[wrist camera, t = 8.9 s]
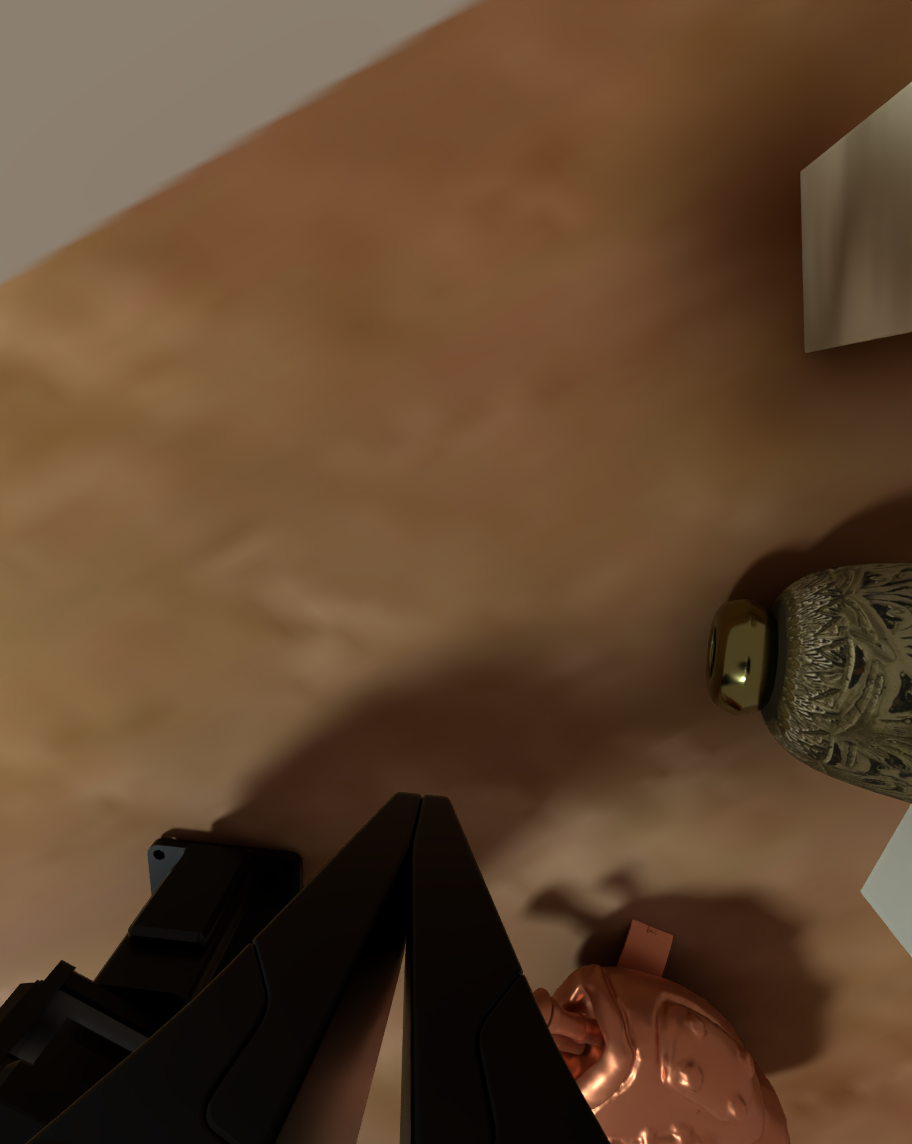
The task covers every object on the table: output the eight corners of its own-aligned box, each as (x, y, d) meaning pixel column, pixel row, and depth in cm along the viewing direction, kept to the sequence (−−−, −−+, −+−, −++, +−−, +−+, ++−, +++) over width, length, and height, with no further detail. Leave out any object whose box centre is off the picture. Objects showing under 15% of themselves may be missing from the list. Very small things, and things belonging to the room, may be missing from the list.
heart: (926, 1183, 18) (511, 998, 17) (713, 1324, 22) (372, 1178, 21) (829, 991, 23) (514, 848, 23) (674, 1132, 28) (403, 1013, 27)
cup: (696, 639, 23) (932, 670, 20) (694, 811, 18) (1004, 882, 15) (728, 491, 18) (1047, 507, 15) (736, 674, 13) (1209, 743, 10)
